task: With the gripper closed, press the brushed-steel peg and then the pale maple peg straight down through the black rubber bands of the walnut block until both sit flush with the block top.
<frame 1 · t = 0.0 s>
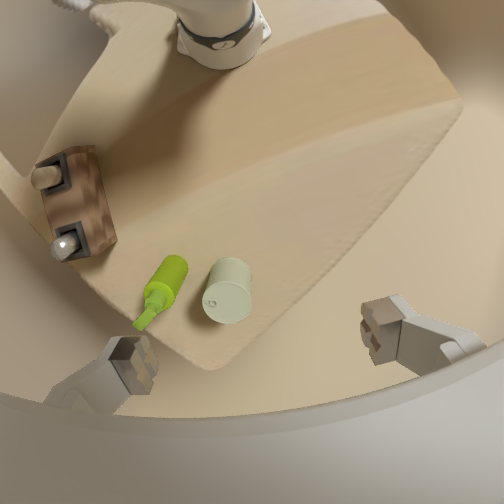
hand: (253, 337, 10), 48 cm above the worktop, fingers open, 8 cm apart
can: (230, 276, 62), on the worktop
steel peg: (68, 243, 48), point 11 cm above the worktop, slide at 0.0 cm
maple peg: (50, 176, 43), point 11 cm above the worktop, slide at 0.0 cm
soap dispenser: (174, 268, 62), on the worktop
walnut block: (85, 199, 55), on the worktop
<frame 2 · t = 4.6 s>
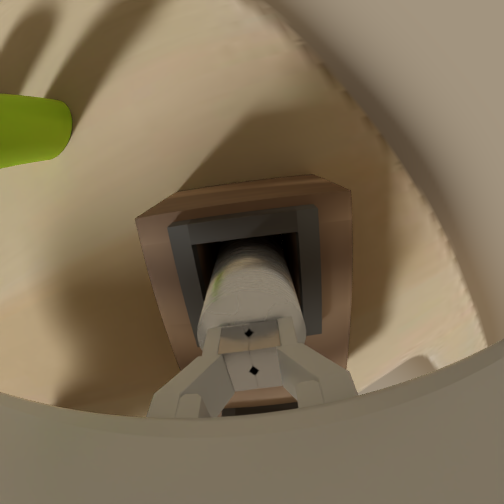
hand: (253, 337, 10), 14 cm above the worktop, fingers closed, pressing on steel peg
steel peg: (251, 288, 14), point 10 cm above the worktop, slide at 0.8 cm, touching gripper
soap dispenser: (53, 125, 20), on the worktop
walnut block: (260, 304, 26), on the worktop
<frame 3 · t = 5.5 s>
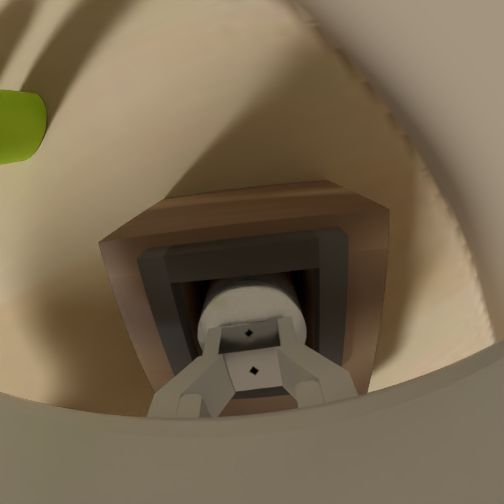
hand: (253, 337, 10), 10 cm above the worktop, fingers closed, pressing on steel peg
steel peg: (251, 287, 14), point 6 cm above the worktop, slide at 5.0 cm, touching gripper
soap dispenser: (28, 121, 16), on the worktop
walnut block: (261, 330, 22), on the worktop
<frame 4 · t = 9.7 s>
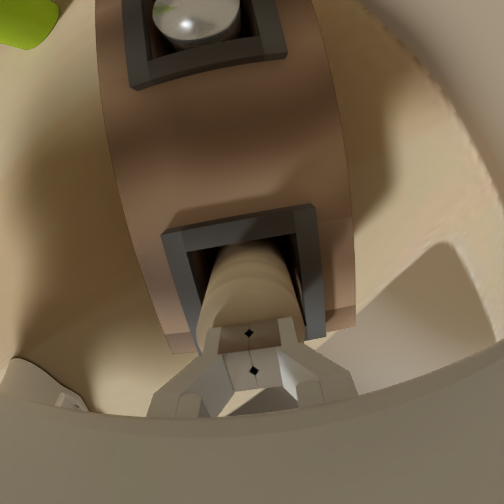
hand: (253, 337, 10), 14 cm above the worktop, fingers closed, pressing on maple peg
steel peg: (206, 33, 12), point 6 cm above the worktop, slide at 5.0 cm
maple peg: (250, 288, 14), point 10 cm above the worktop, slide at 1.4 cm, touching gripper
soap dispenser: (42, 22, 15), on the worktop
walnut block: (233, 145, 20), on the worktop
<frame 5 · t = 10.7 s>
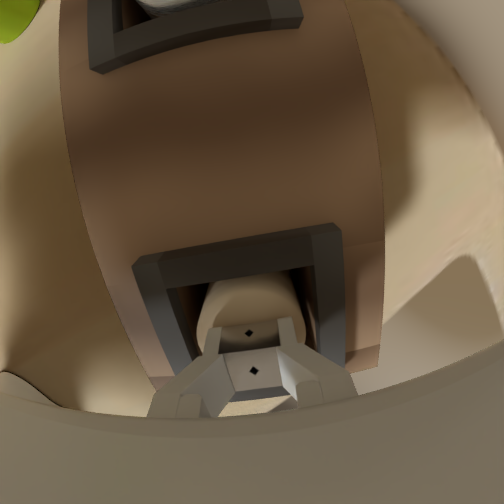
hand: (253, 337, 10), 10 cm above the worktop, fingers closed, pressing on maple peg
steel peg: (196, 6, 9), point 6 cm above the worktop, slide at 5.0 cm
maple peg: (250, 288, 14), point 6 cm above the worktop, slide at 5.0 cm, touching gripper
soap dispenser: (22, 13, 11), on the worktop
walnut block: (230, 143, 17), on the worktop
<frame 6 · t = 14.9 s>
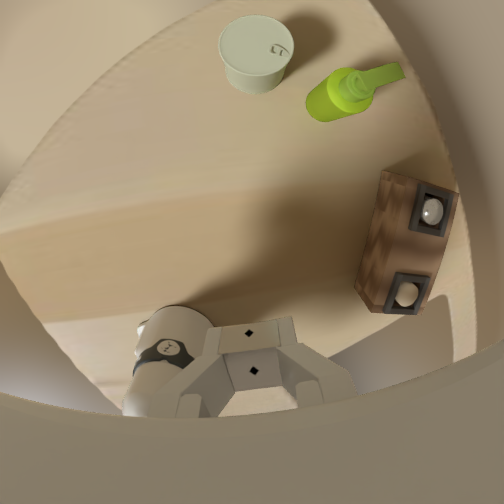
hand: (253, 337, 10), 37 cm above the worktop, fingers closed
can: (254, 68, 38), on the worktop
steel peg: (420, 206, 40), point 6 cm above the worktop, slide at 5.0 cm
maple peg: (398, 284, 44), point 6 cm above the worktop, slide at 5.0 cm
soap dispenser: (326, 103, 40), on the worktop
walnut block: (394, 235, 48), on the worktop
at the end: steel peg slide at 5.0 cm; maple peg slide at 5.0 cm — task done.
